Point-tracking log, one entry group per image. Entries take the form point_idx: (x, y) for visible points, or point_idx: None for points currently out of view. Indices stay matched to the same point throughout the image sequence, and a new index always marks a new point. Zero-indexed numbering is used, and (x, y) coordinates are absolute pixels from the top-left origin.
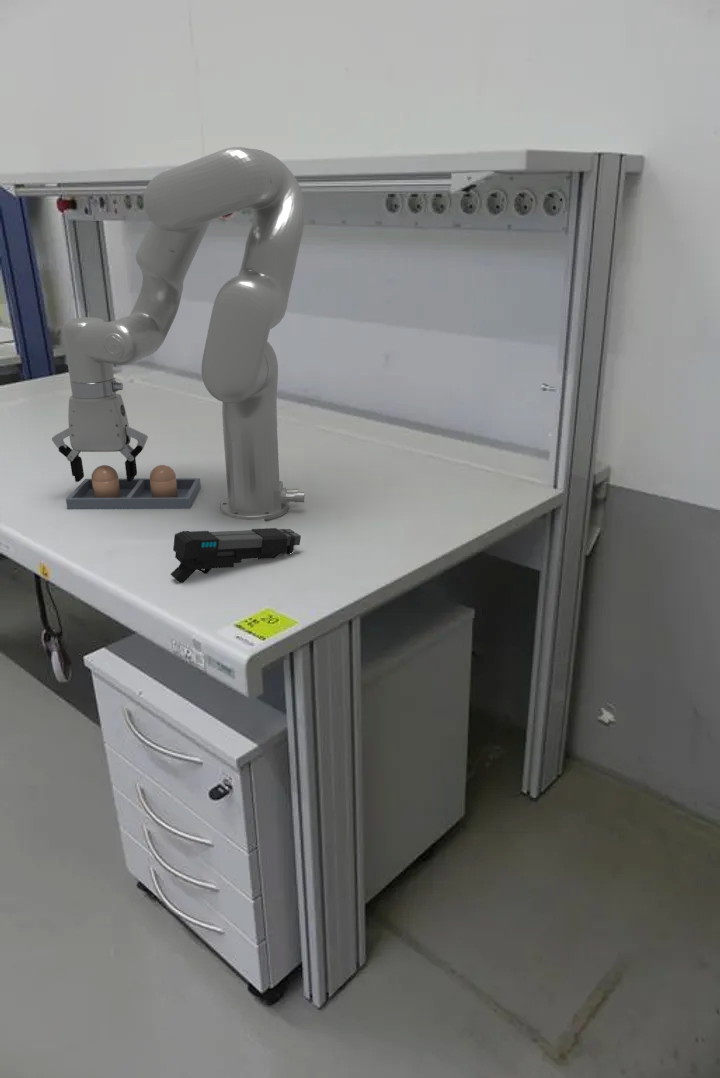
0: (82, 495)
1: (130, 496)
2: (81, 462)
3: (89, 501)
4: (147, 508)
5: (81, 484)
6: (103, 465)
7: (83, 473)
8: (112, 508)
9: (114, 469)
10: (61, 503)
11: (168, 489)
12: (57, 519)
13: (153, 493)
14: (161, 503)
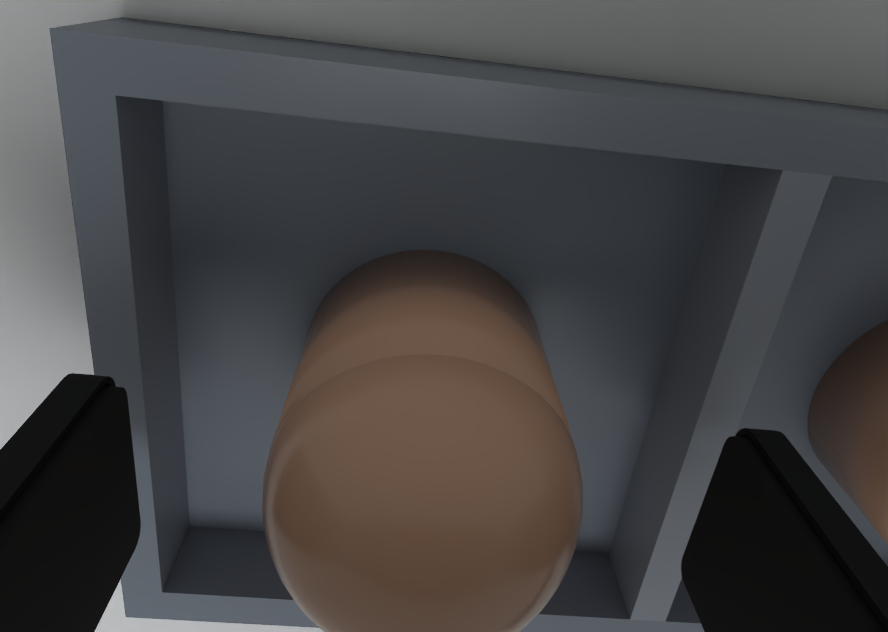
0: (170, 312)
1: (663, 602)
2: (24, 555)
3: None
4: None
5: (98, 260)
6: (421, 607)
7: (108, 415)
8: None
9: (563, 539)
10: (19, 355)
11: None
12: (145, 625)
13: (857, 507)
14: None
